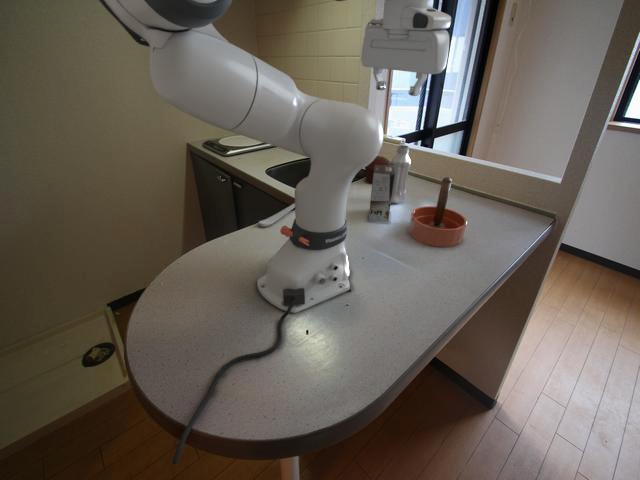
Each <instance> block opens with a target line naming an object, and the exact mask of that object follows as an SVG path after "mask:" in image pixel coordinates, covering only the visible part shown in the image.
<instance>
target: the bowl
mask: <svg viewBox="0 0 640 480" xmlns="http://www.w3.org/2000/svg"><path fill="white" fill-rule="evenodd" d="M435 211H436V206H432V205H430V206H429V205H428V206H427V205H426V206H420V207H417V208H415V209H413V210H412V211H411V213H410V219H409V223H408V234H409V235H410V236H411V238H413V239H414V240H416V241H417V242H419V243H422V244H424V245H428V246H431V247H438V248H449V247H450V248H451V247H455V246H458V245H459V244H460V243H462V241H463V238H464V235H465V232H466V228H467V224H468V220H467V218H466V217H465V216H464V215H463V214H462V213H460V212H457V211H456V210H453V209H450V208H447V207H445V212H444V216H443V220H442V223H443V224H444V225H445V227H444V229H440V228H434V227H430V226H429V223H430V222H432V221H433V220H434V215H435Z"/></svg>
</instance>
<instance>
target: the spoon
mask: <svg viewBox="0 0 640 480" xmlns="http://www.w3.org/2000/svg"><path fill="white" fill-rule="evenodd" d="M293 209H295V202H293V203H292V204H290V205H289V206H286V208H284V209H282V210H281V211H279V212H277V213H275V214H273V215H272V216H270V217H268V218H265V219H262V220H259V221H258V226H259V227H261V228H267V227H270V226H271V225H273V224H274V223H276V222H277V221H279V220H280V219H281V218H282V217H284V216H285V215H286V214H288V213H289V212H291V211H292V210H293Z"/></svg>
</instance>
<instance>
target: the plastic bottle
mask: <svg viewBox="0 0 640 480" xmlns="http://www.w3.org/2000/svg"><path fill="white" fill-rule="evenodd" d="M409 152H410V146H409V145H403V144H402V145H401V144H400V145H397V149H396V154H395V155H394V156H393V158H392V160H391V161H390V162H391V166H394V167H395V177H394V184H393V191H392V198H391V204H397V205H400V204H403V203H404V202H405V200H406V198H407V178H408V175H409V171H410V168H411V163H412V162H411V161H412V160H411V158H410V156H409Z"/></svg>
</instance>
